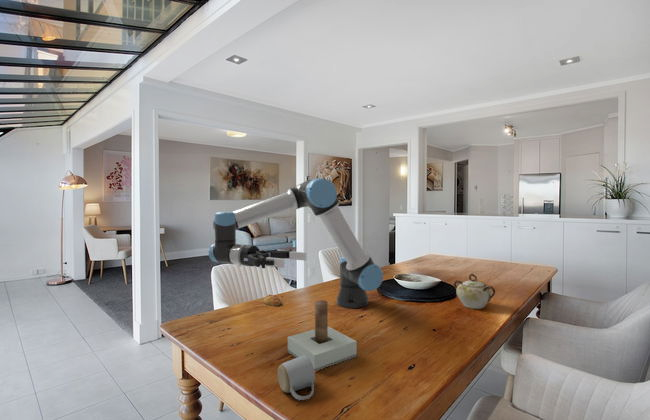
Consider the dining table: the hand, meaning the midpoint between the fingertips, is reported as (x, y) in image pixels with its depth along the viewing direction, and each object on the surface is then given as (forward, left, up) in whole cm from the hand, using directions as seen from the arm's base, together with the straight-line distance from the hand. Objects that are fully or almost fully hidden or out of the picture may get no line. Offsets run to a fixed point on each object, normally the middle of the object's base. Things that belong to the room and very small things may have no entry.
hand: (295, 259), depth 110 cm
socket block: (+9, +4, -30) cm, 32 cm away
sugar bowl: (+12, +88, -30) cm, 94 cm away
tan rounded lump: (-49, +16, -30) cm, 60 cm away
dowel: (+9, +4, -29) cm, 31 cm away
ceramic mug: (+21, -12, -30) cm, 39 cm away
